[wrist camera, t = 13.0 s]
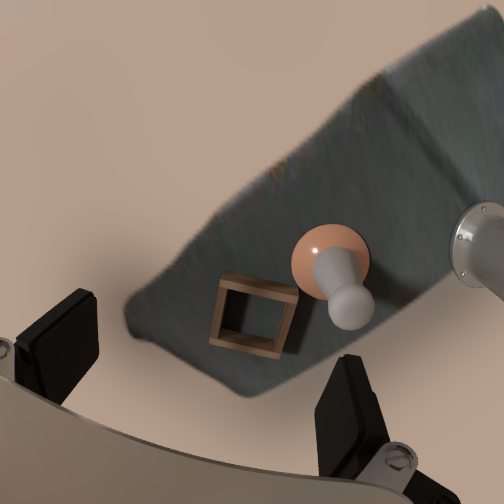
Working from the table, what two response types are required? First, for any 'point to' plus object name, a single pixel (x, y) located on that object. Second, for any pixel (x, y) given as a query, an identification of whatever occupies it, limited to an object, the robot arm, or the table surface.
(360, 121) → the table surface
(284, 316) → the square wooden frame
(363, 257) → the orange round disc
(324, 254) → the salt shaker
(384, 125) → the table surface
